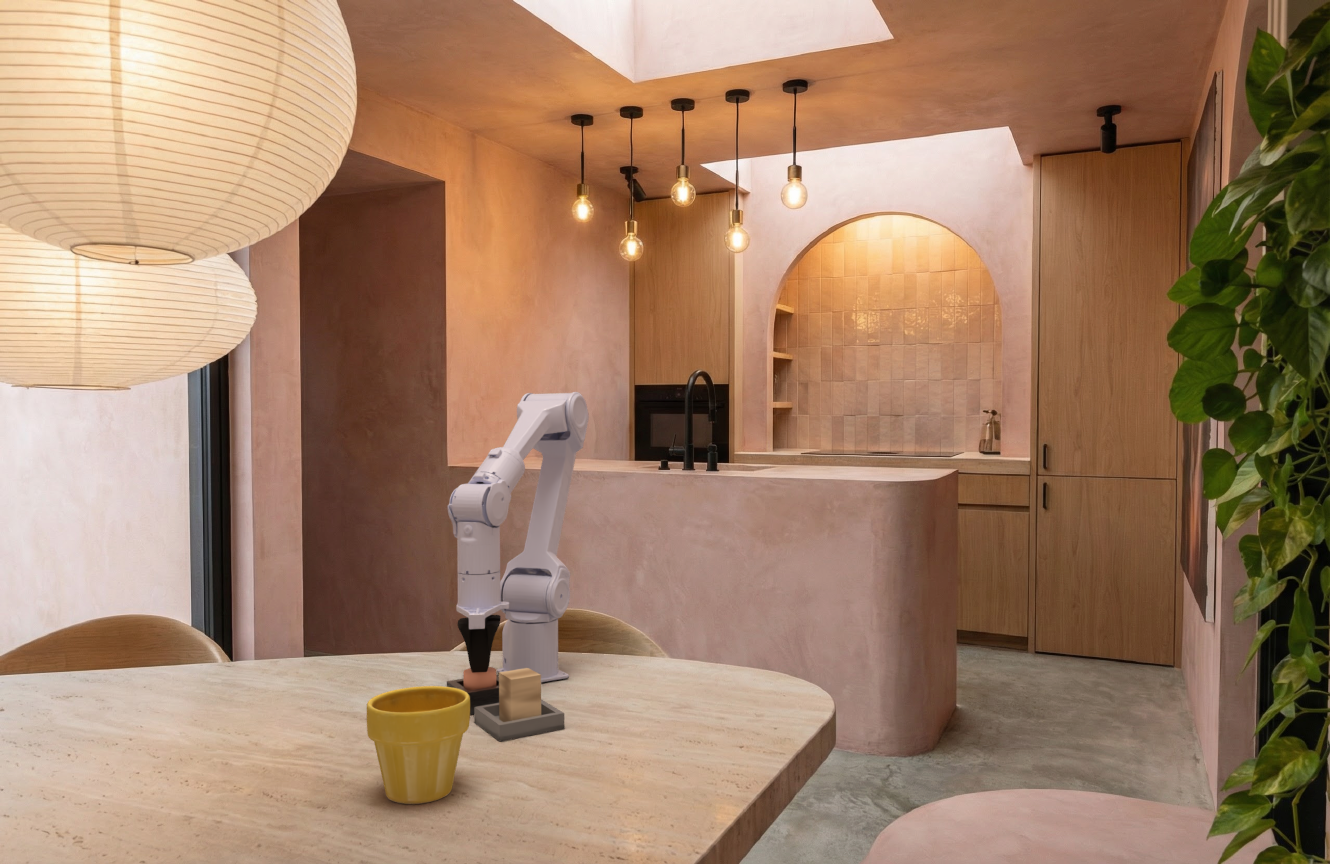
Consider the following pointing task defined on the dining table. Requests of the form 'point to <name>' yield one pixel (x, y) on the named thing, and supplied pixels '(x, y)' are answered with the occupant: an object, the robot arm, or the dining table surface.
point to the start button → (479, 679)
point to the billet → (519, 694)
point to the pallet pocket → (518, 722)
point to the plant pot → (418, 740)
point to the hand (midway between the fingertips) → (479, 671)
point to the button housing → (478, 693)
